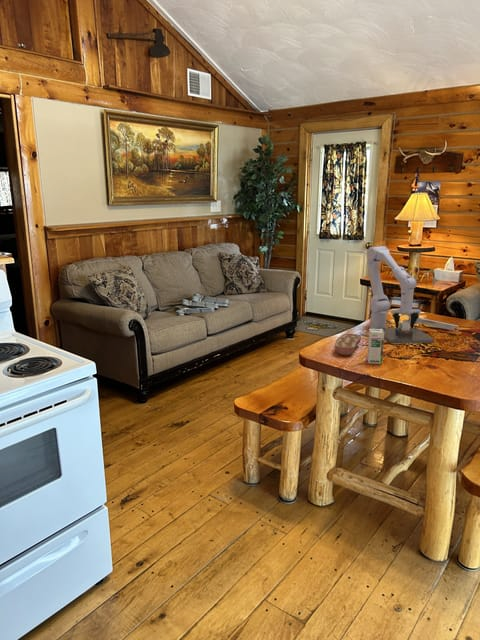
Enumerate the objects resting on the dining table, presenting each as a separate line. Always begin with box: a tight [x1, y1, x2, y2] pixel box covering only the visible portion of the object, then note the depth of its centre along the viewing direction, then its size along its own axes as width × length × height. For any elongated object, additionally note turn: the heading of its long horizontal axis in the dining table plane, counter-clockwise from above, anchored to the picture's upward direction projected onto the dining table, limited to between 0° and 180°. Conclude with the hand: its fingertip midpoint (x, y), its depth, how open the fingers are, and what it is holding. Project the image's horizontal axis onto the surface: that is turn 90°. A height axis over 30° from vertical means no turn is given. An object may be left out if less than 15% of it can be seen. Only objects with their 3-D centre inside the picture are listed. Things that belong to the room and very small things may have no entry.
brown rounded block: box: [334, 333, 362, 356], centre depth 228 cm, size 23×10×5 cm, turn 156°
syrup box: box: [366, 328, 385, 365], centre depth 211 cm, size 6×6×14 cm
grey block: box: [399, 321, 410, 331], centre depth 248 cm, size 4×4×5 cm
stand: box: [376, 326, 435, 344], centre depth 248 cm, size 22×22×4 cm
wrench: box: [401, 314, 460, 332], centre depth 264 cm, size 8×2×30 cm
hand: (404, 327), depth 248 cm, fingers open, 7 cm apart
